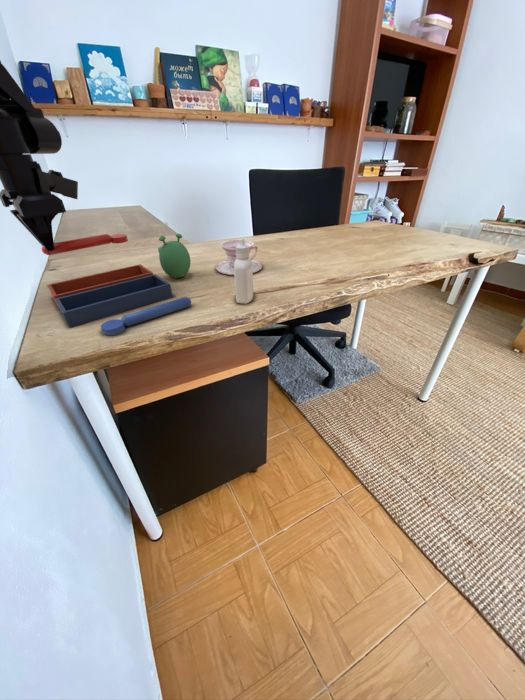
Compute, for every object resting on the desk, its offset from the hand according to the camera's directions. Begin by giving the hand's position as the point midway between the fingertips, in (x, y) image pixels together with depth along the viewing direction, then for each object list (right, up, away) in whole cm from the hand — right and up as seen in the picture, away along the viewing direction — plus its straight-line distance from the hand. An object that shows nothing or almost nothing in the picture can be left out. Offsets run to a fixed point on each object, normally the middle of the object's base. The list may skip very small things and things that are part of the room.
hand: (49, 249), depth 58 cm
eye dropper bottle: (+38, -9, +3) cm, 40 cm away
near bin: (+13, -11, +2) cm, 17 cm away
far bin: (+7, -7, +7) cm, 12 cm away
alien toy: (+21, -2, +14) cm, 26 cm away
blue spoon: (+21, -14, -3) cm, 26 cm away
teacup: (+36, +1, +19) cm, 41 cm away
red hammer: (+5, +2, +5) cm, 7 cm away
